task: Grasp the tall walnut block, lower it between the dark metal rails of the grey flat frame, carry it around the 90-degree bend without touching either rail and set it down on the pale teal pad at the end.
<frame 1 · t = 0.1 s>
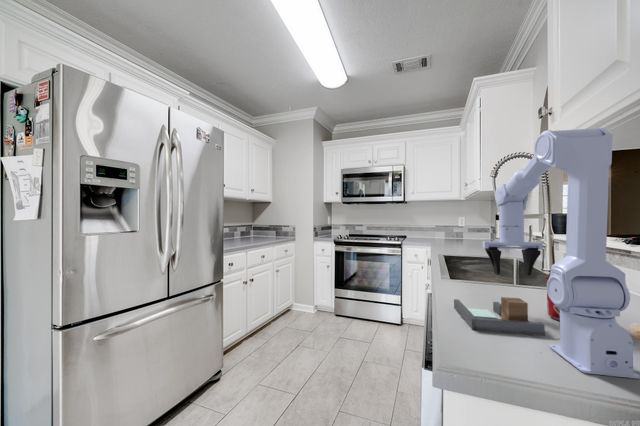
hand: (512, 274, 76), 10 cm above the counter, fingers open, 7 cm apart
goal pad: (480, 313, 72), on the counter
beverage can: (563, 319, 69), on the counter
grey flat frame: (489, 320, 68), on the counter
walnut block: (514, 324, 65), on the counter
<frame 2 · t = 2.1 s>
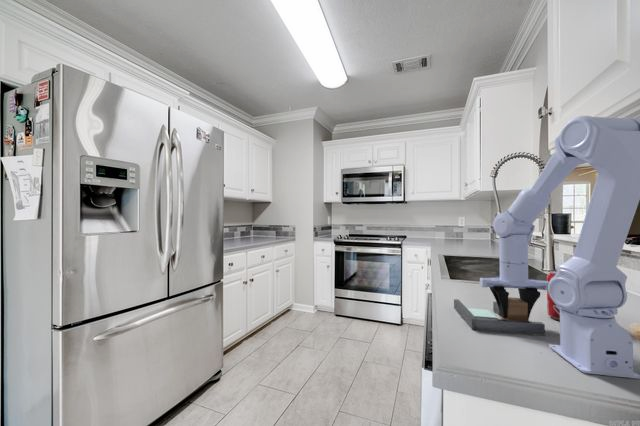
hand: (514, 317, 65), 2 cm above the counter, fingers closed on walnut block, 4 cm apart
walnut block: (514, 324, 65), on the counter, touching gripper
everything else where it was.
when the fingers open (3 cm above the counter, at t = 6.8 s): walnut block stays where it is, resting on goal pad.
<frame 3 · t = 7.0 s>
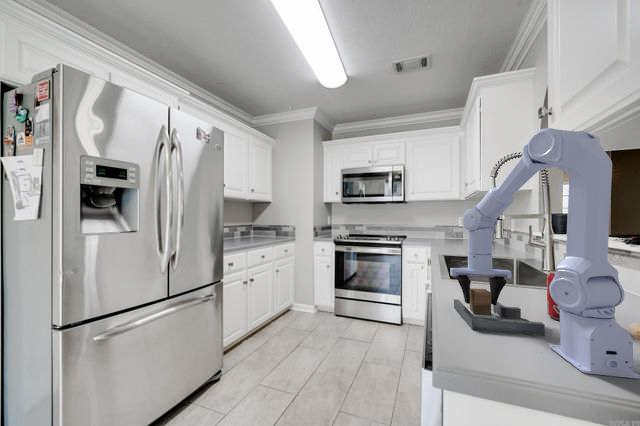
hand: (480, 303, 72), 3 cm above the counter, fingers open, 6 cm apart
walnut block: (480, 312, 73), resting on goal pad
everything else where it was.
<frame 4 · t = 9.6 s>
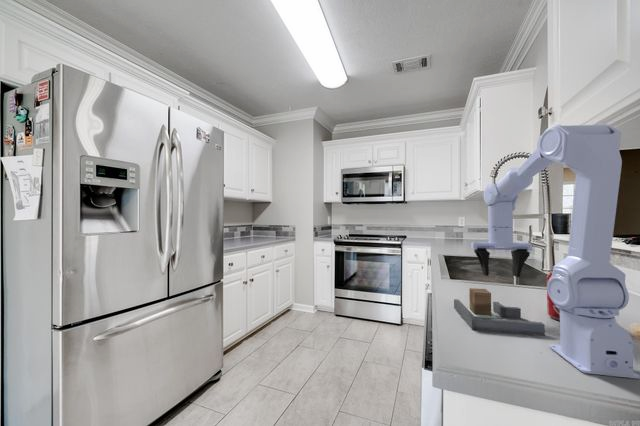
hand: (500, 275, 75), 10 cm above the counter, fingers open, 7 cm apart
nothing on the counter moved.
at the end: walnut block 0.2 cm off-centre on the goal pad, point 0.3 cm above the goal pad's base; walnut block tilted 0°; walnut block touching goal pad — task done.
